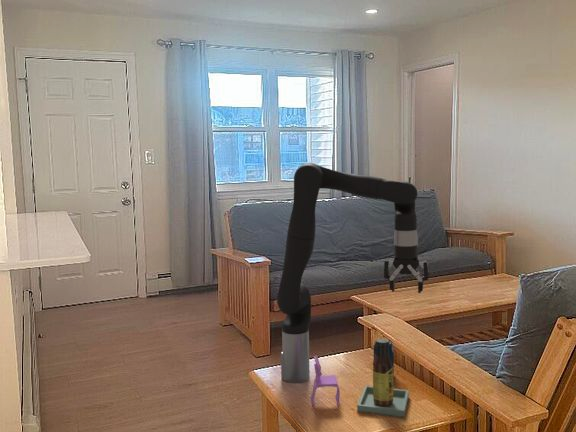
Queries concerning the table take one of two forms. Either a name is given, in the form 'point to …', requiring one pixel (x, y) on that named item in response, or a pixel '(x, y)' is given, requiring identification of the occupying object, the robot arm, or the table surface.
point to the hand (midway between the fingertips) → (406, 291)
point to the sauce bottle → (382, 374)
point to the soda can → (391, 352)
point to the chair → (323, 381)
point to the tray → (394, 409)
